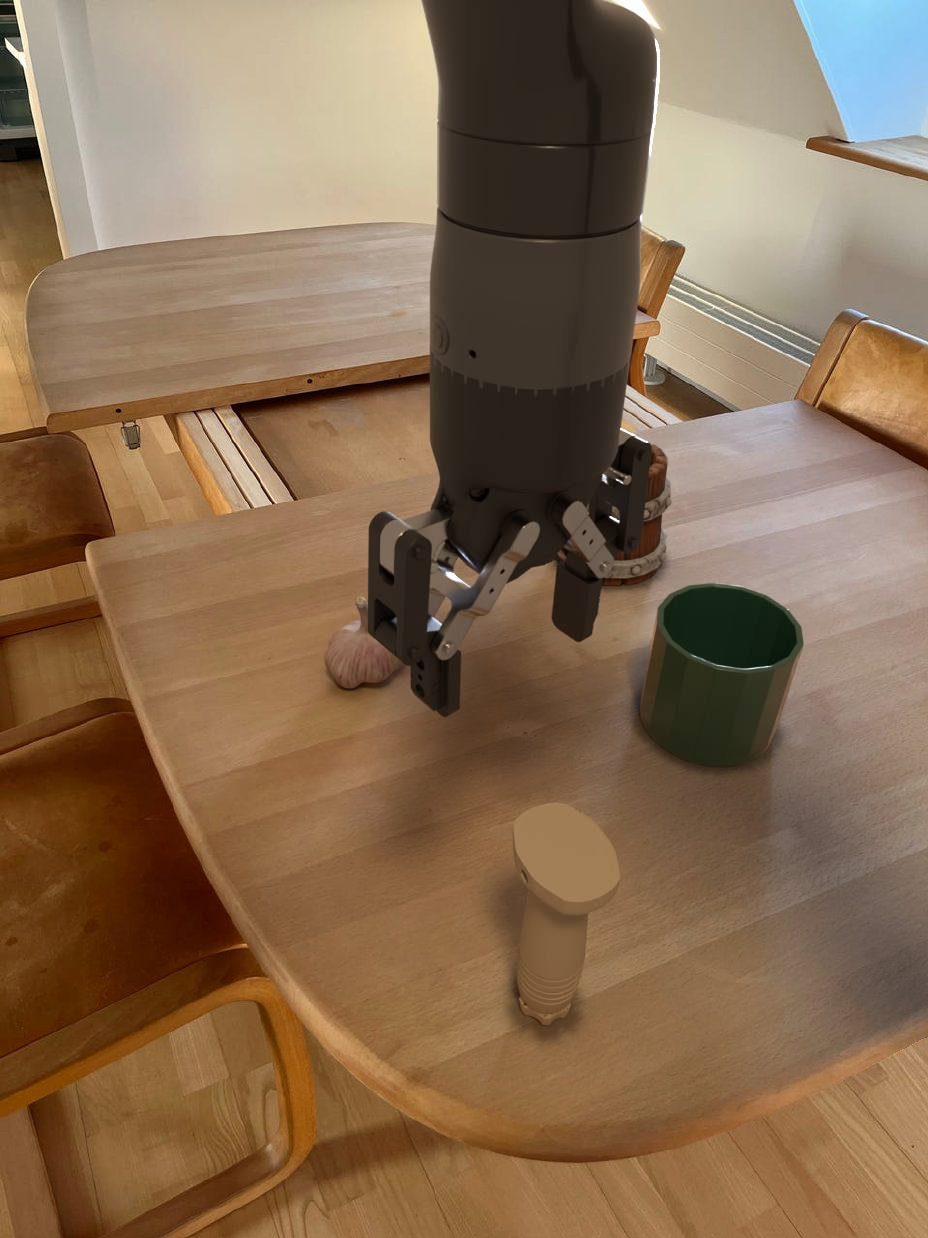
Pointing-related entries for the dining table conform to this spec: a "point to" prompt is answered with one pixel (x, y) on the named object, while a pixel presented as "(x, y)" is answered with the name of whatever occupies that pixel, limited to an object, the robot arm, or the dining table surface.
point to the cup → (718, 673)
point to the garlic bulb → (358, 653)
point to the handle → (558, 902)
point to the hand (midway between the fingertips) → (508, 666)
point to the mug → (645, 529)
